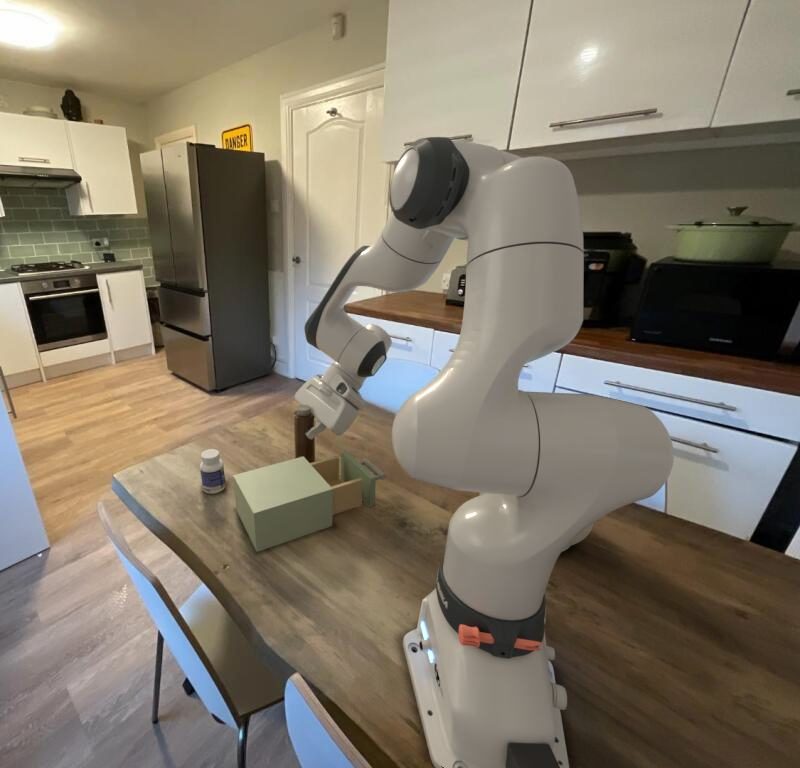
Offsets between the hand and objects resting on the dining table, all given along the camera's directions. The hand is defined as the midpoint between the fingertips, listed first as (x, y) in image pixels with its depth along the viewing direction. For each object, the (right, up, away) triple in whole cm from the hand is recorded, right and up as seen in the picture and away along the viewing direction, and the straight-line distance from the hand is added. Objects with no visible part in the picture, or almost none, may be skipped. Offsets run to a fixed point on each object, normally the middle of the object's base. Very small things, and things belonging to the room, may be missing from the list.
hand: (302, 431), depth 96 cm
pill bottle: (-20, -13, -3) cm, 24 cm away
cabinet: (-4, -16, -13) cm, 21 cm away
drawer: (+7, -13, -9) cm, 17 cm away
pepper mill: (+1, -7, +3) cm, 8 cm away
